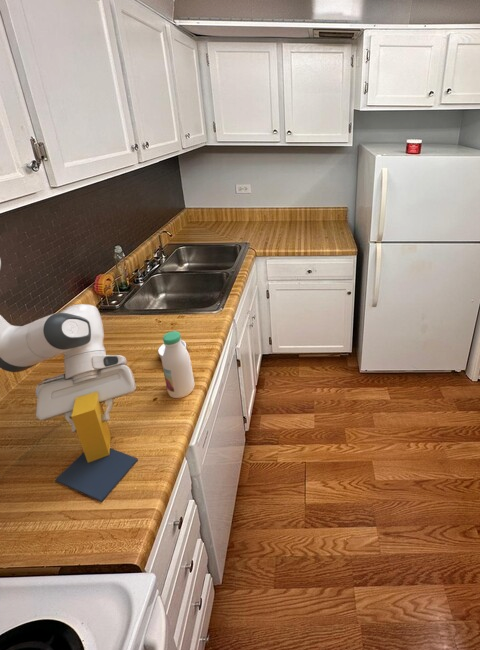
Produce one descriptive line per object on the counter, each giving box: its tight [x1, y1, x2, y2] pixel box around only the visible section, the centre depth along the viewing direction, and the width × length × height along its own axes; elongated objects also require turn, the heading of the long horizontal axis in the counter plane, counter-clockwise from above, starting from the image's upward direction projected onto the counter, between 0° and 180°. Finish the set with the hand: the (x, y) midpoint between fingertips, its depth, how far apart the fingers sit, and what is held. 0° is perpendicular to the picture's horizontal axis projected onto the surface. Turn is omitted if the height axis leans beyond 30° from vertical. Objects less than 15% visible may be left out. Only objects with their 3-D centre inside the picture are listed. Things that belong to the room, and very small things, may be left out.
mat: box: [54, 447, 139, 503], centre depth 78 cm, size 14×10×1 cm
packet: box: [72, 391, 112, 463], centre depth 80 cm, size 6×4×15 cm
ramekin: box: [157, 339, 187, 361], centre depth 114 cm, size 9×9×4 cm
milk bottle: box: [161, 330, 195, 399], centre depth 98 cm, size 8×8×20 cm
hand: (91, 426), depth 79 cm, fingers closed on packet, 4 cm apart
